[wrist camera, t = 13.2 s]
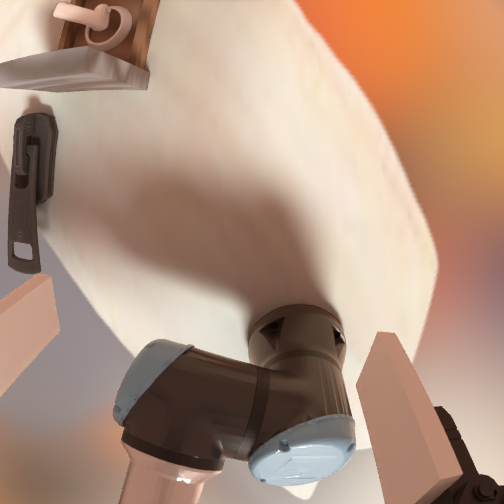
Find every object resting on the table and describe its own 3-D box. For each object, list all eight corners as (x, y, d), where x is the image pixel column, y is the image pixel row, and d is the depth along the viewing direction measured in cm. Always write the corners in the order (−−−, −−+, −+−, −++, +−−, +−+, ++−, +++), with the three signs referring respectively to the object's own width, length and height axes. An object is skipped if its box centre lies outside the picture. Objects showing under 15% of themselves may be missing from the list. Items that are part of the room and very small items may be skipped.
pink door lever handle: (50, 6, 27) (67, -20, 22) (116, 22, 36) (139, 2, 32) (36, 47, 28) (50, 23, 23) (107, 60, 37) (130, 41, 33)
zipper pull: (6, 269, 41) (-4, 117, 32) (28, 255, 47) (22, 116, 38) (41, 278, 40) (33, 110, 32) (63, 262, 47) (60, 110, 38)
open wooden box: (147, 89, 37) (82, 70, 22) (57, 92, 37) (-17, 87, 22) (170, -15, 31) (126, -69, 16) (79, -2, 31) (18, -33, 16)
